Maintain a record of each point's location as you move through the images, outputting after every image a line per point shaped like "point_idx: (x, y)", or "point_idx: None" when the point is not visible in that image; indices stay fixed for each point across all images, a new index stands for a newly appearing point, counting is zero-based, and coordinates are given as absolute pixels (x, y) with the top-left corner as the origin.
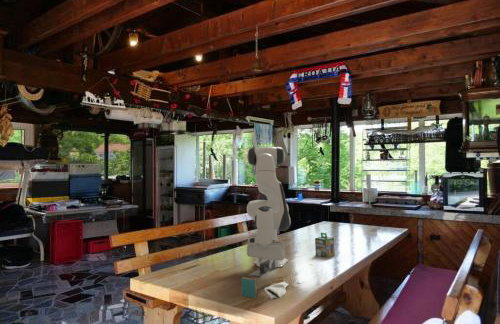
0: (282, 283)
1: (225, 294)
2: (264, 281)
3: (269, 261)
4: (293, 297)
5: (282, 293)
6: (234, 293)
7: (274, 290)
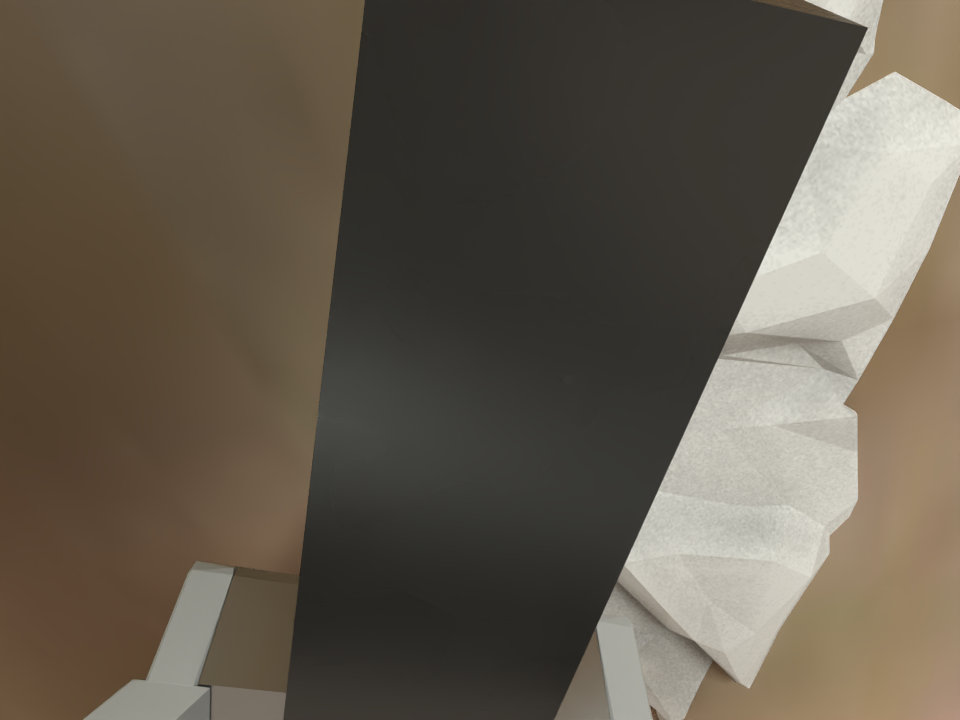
0: (823, 277)
1: (28, 713)
2: (298, 36)
3: (519, 651)
4: (951, 624)
5: (802, 593)
6: (113, 673)
7: (682, 613)
